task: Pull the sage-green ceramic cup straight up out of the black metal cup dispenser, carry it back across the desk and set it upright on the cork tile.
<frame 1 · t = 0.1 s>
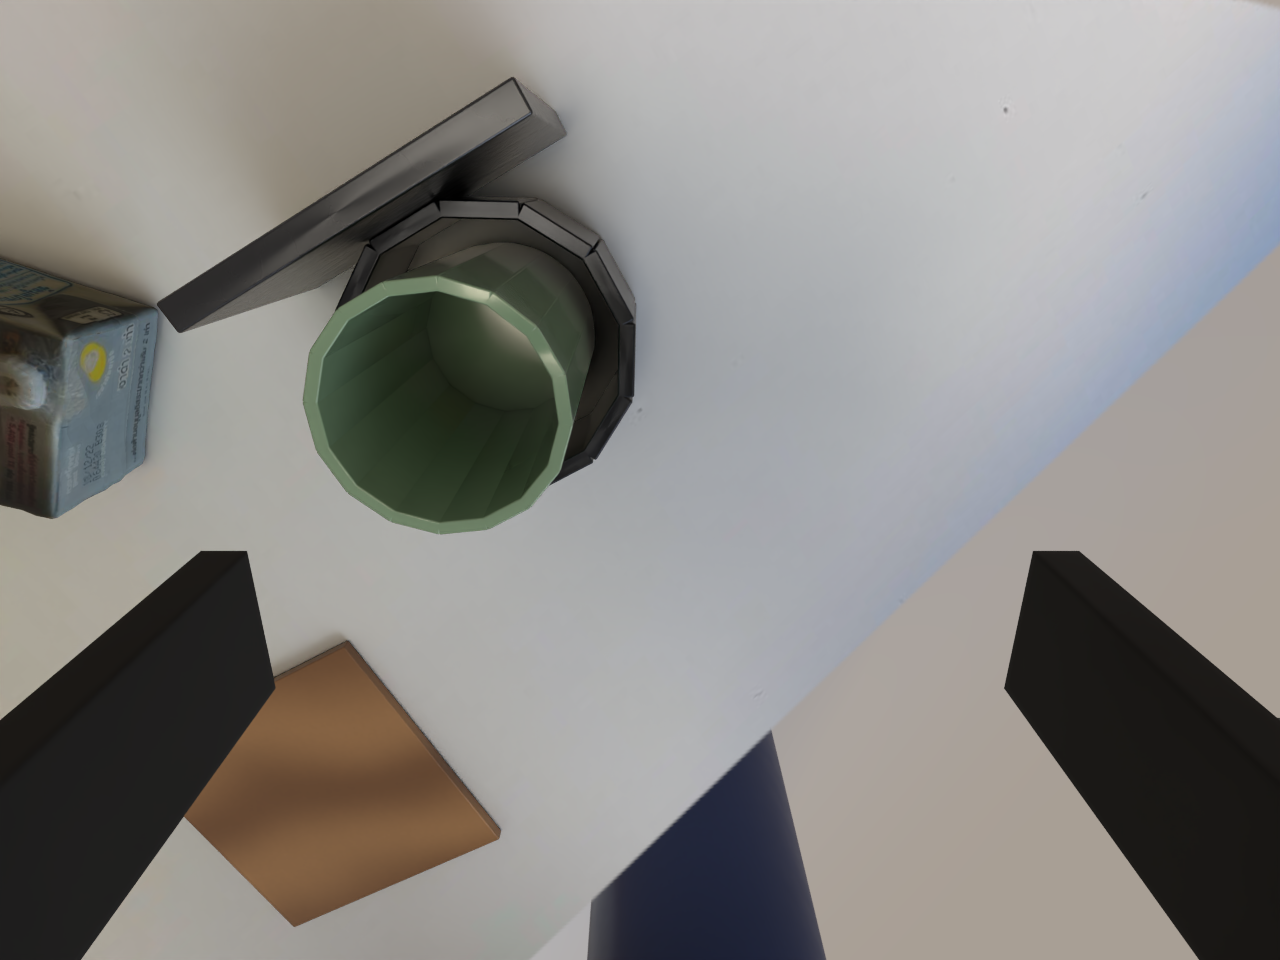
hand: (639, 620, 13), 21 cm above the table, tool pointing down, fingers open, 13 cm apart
cup: (508, 332, 32), resting in dispenser
cork tile: (321, 791, 41), on the table
dispenser: (508, 332, 32), on the table
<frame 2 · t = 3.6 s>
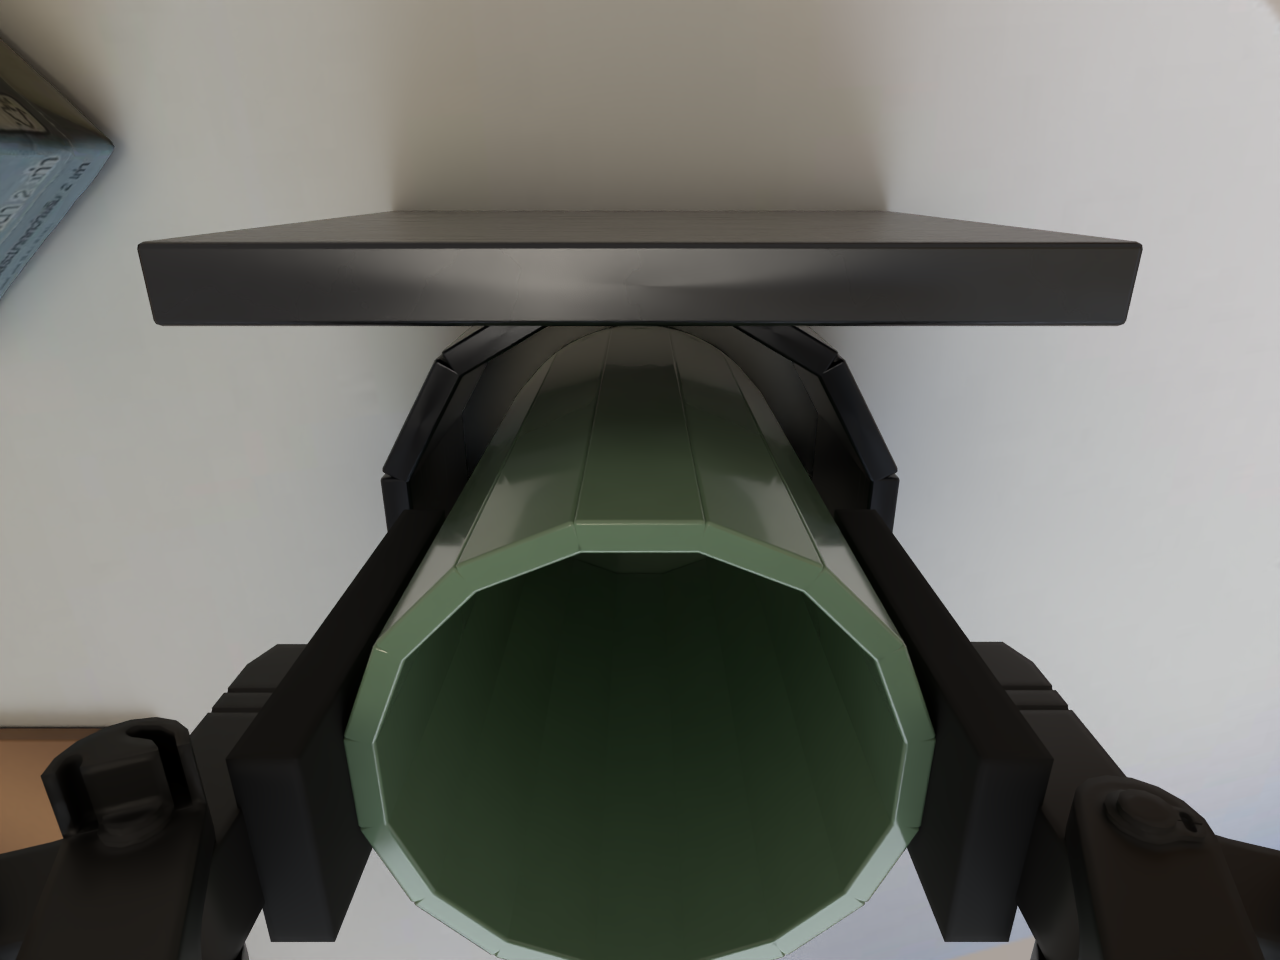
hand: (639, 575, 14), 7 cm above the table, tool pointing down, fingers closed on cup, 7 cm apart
cup: (639, 457, 21), resting in dispenser, touching gripper
cork tile: (7, 890, 26), on the table
dispenser: (640, 457, 21), on the table
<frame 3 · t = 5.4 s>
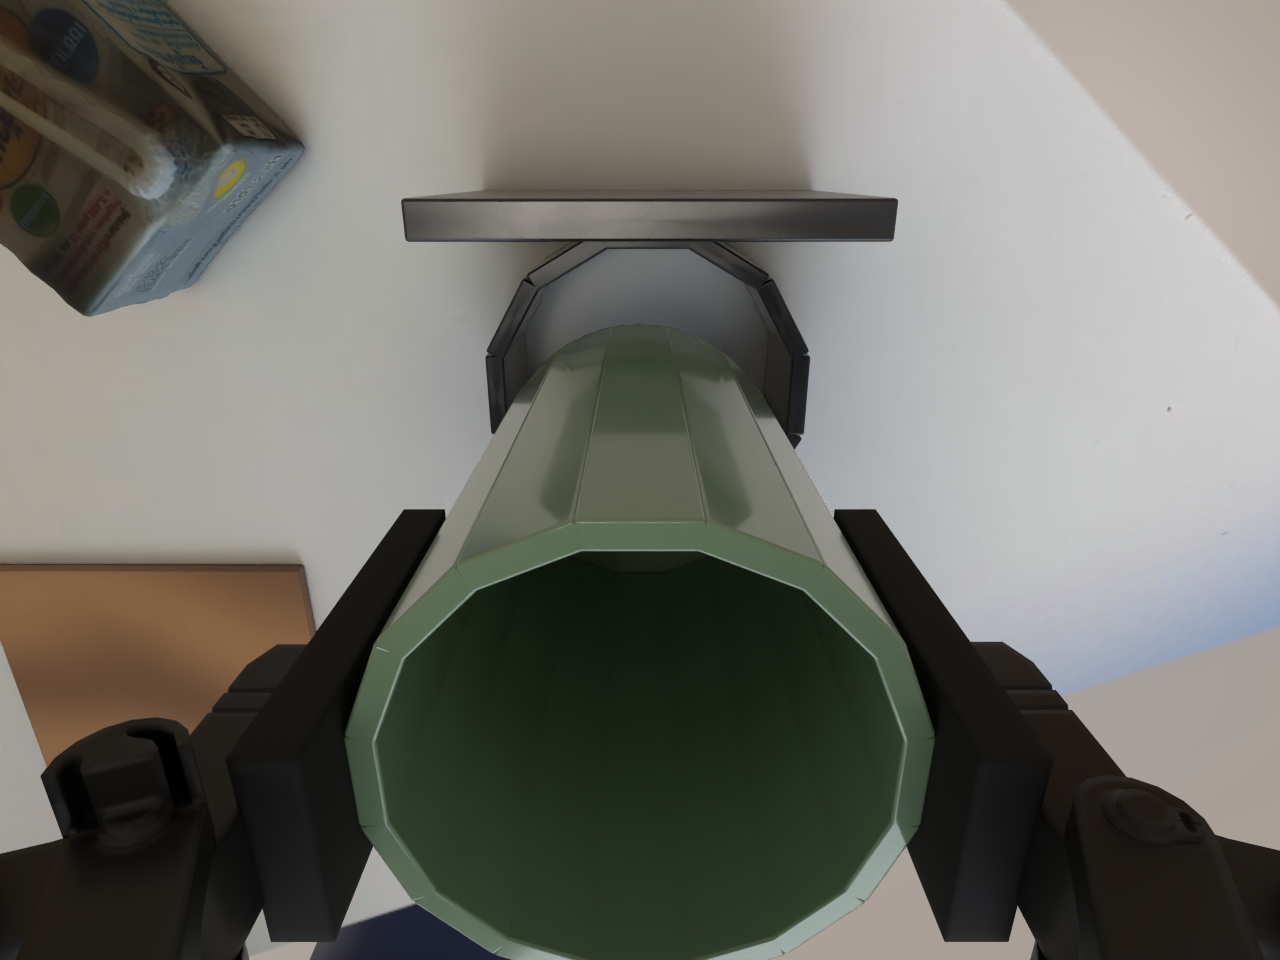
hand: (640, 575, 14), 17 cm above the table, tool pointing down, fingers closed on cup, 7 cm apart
beverage carton: (26, 9, 26), on the table
cup: (639, 457, 21), point 10 cm above the table, touching gripper
cork tile: (180, 695, 36), on the table
dispenser: (646, 362, 30), on the table
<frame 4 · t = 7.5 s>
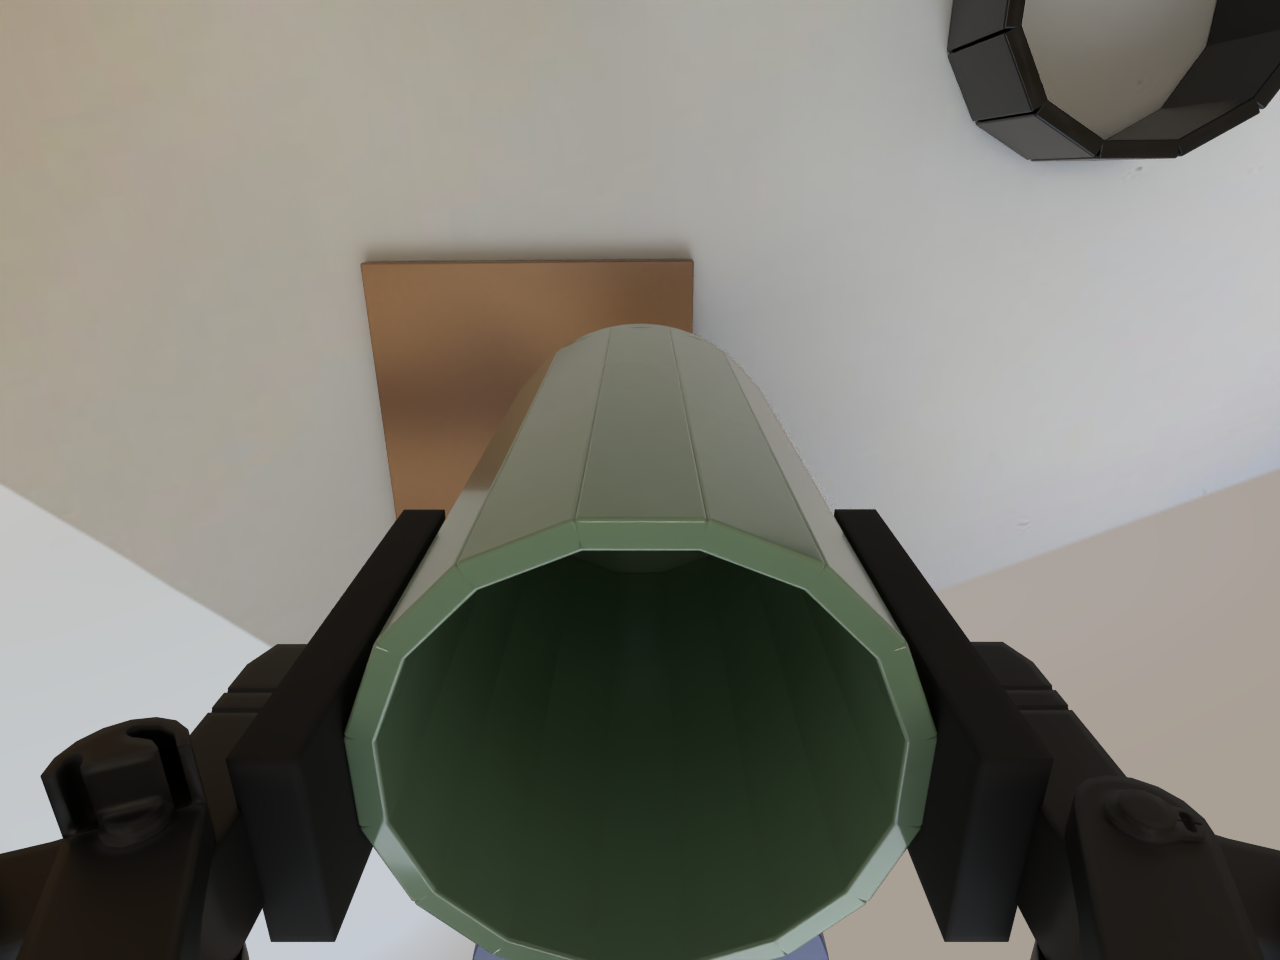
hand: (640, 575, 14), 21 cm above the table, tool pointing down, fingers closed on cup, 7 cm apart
cup: (640, 457, 21), point 14 cm above the table, touching gripper
cork tile: (538, 417, 35), on the table
dispenser: (1091, 9, 29), on the table
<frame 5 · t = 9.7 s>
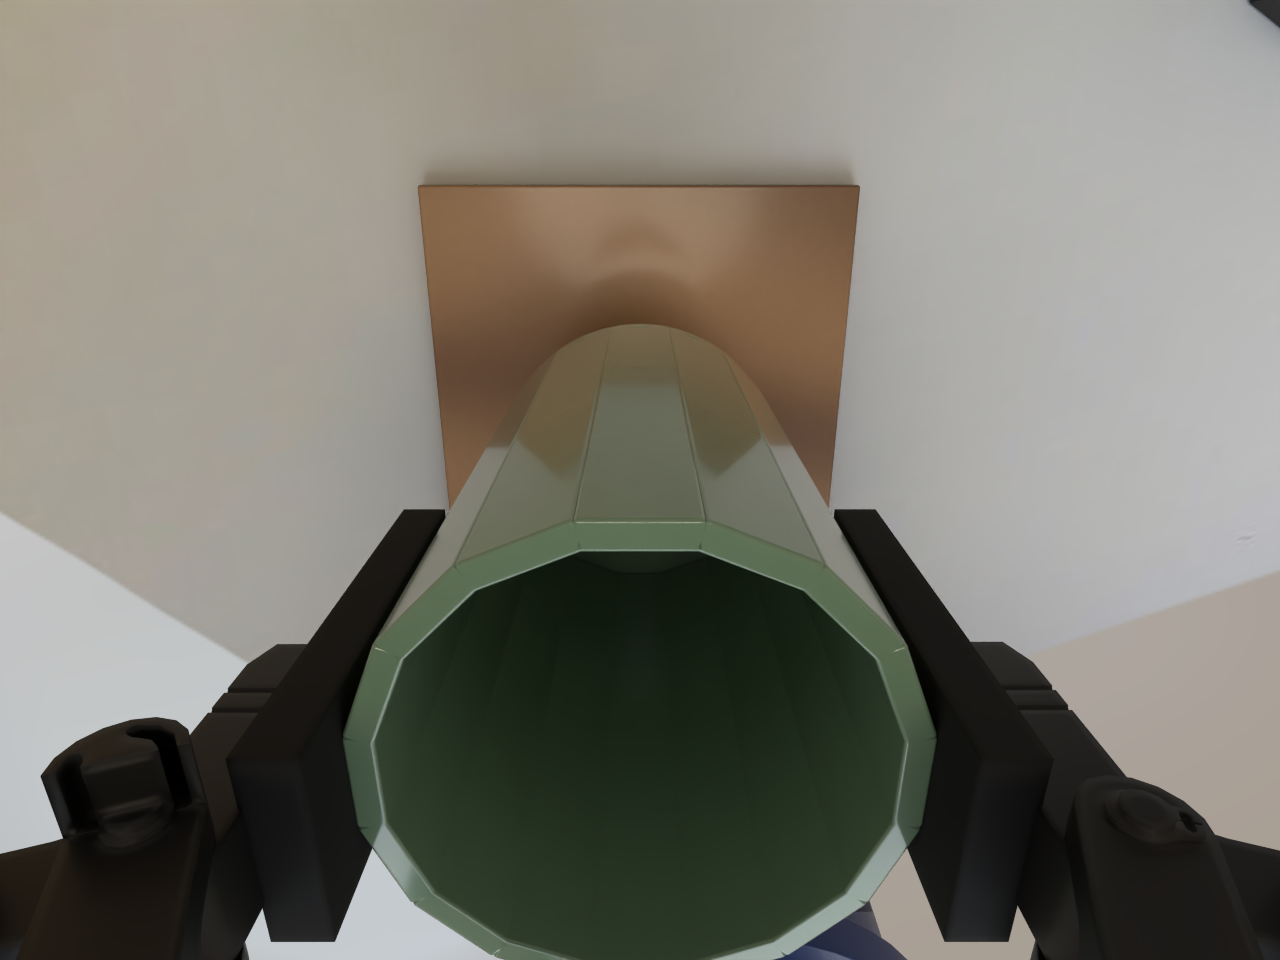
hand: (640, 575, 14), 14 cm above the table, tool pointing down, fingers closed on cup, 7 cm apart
cup: (639, 457, 21), point 7 cm above the table, touching gripper
cork tile: (639, 395, 27), on the table
when the fingers open (7 cm above the table, at t = 11.6 s): cup stays where it is, resting on cork tile.
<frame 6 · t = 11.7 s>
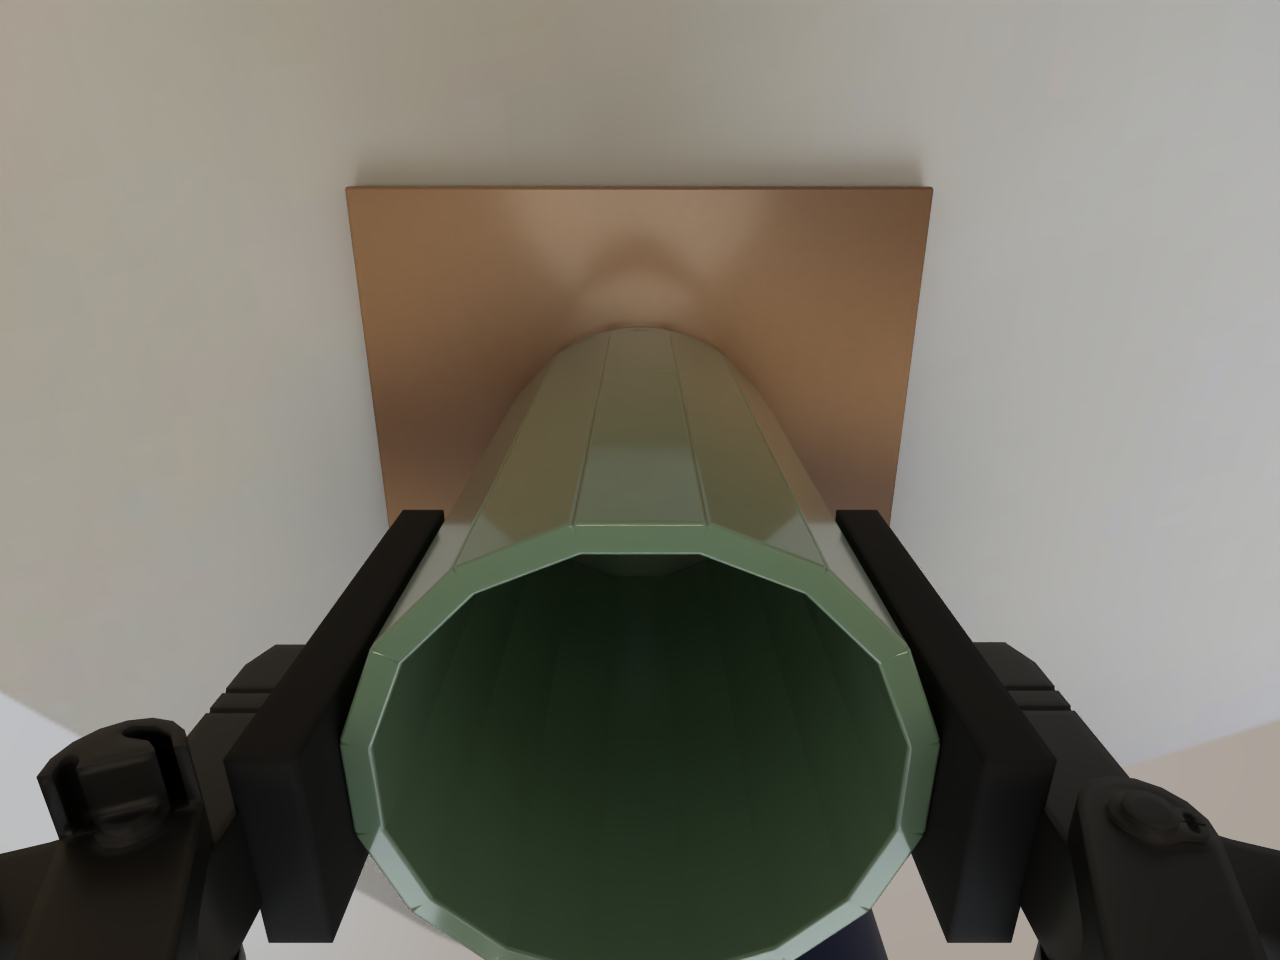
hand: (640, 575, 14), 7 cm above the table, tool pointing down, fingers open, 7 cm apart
cup: (639, 460, 21), point 1 cm above the table, touching cork tile
cork tile: (639, 457, 21), on the table
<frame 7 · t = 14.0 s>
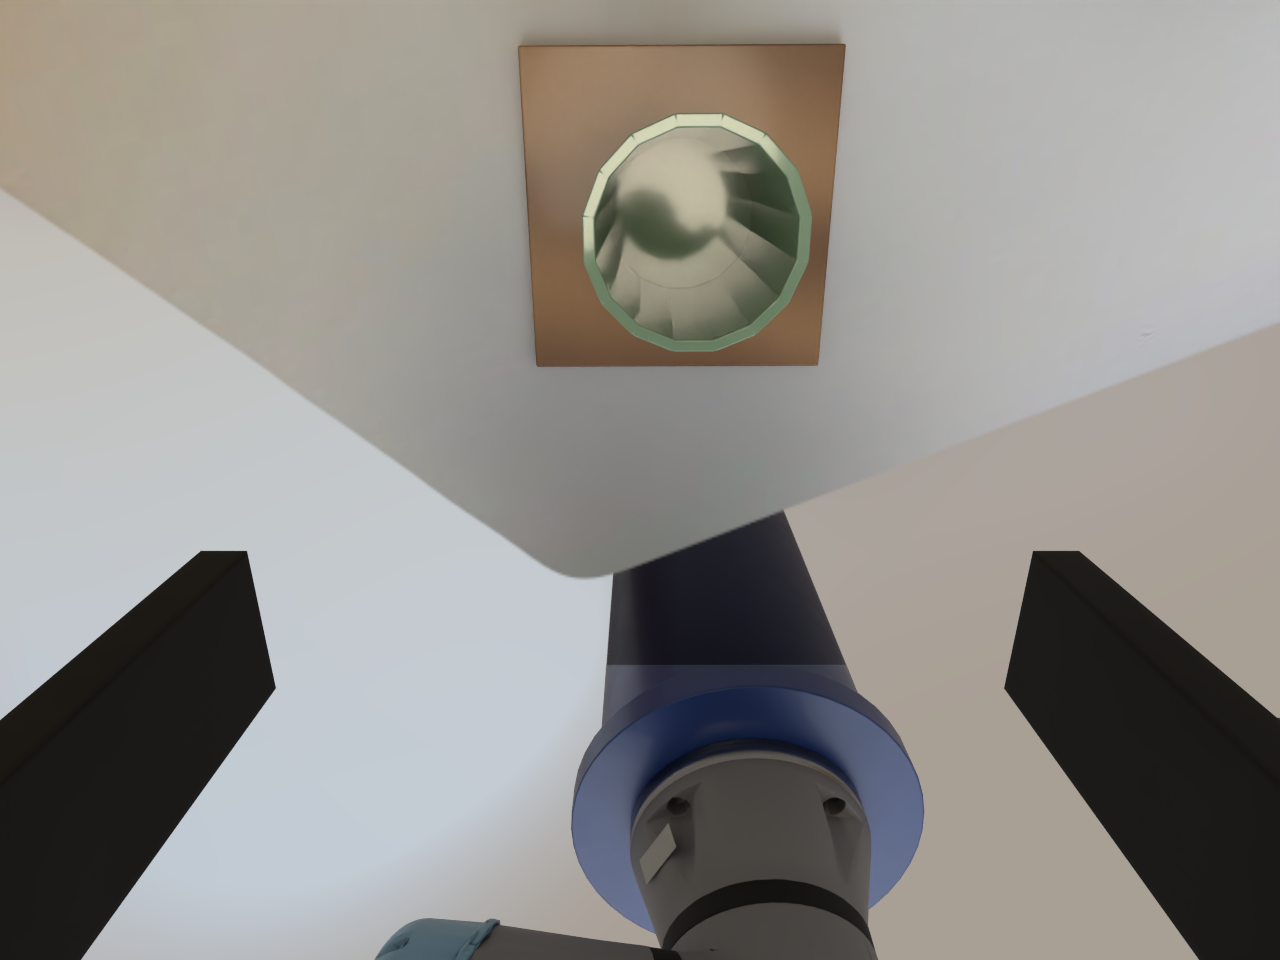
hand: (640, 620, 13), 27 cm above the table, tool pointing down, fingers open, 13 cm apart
cup: (679, 215, 35), point 1 cm above the table, touching cork tile
cork tile: (678, 217, 36), on the table
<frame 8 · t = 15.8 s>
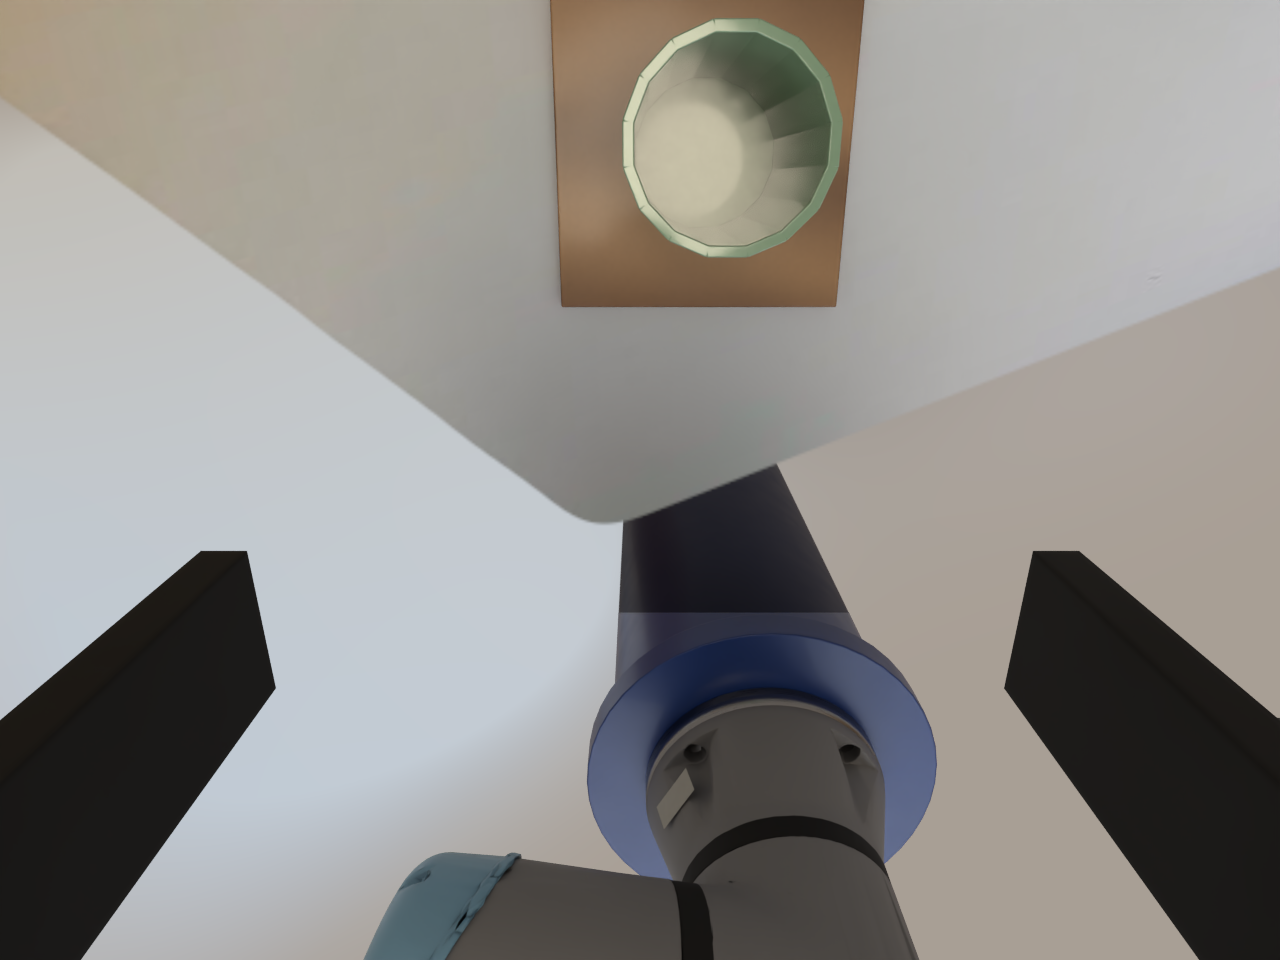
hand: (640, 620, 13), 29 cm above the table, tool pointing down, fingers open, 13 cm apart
cup: (703, 155, 36), point 1 cm above the table, touching cork tile
cork tile: (702, 158, 37), on the table
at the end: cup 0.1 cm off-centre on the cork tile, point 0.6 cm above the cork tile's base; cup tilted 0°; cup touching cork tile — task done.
